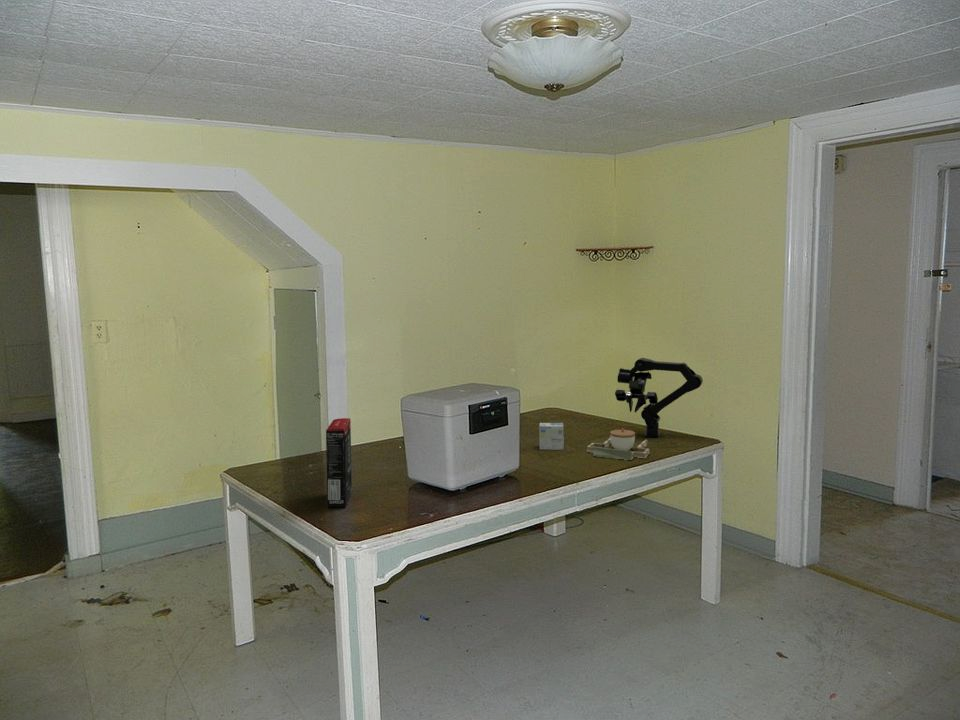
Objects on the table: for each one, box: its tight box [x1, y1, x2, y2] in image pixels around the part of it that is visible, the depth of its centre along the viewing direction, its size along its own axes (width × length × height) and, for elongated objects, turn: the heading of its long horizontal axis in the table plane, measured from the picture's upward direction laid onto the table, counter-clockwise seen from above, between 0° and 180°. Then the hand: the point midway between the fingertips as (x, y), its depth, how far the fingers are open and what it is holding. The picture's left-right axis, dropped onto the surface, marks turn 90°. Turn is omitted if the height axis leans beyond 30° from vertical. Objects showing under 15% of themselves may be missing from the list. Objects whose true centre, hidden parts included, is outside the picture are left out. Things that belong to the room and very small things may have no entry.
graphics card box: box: [325, 417, 353, 508], centre depth 243 cm, size 17×7×27 cm, turn 4°
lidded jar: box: [609, 427, 636, 451], centre depth 307 cm, size 11×11×9 cm
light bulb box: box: [538, 422, 565, 451], centre depth 311 cm, size 11×7×11 cm, turn 84°
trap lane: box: [586, 437, 651, 461], centre depth 306 cm, size 28×25×4 cm
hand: (632, 411), depth 321 cm, fingers closed
